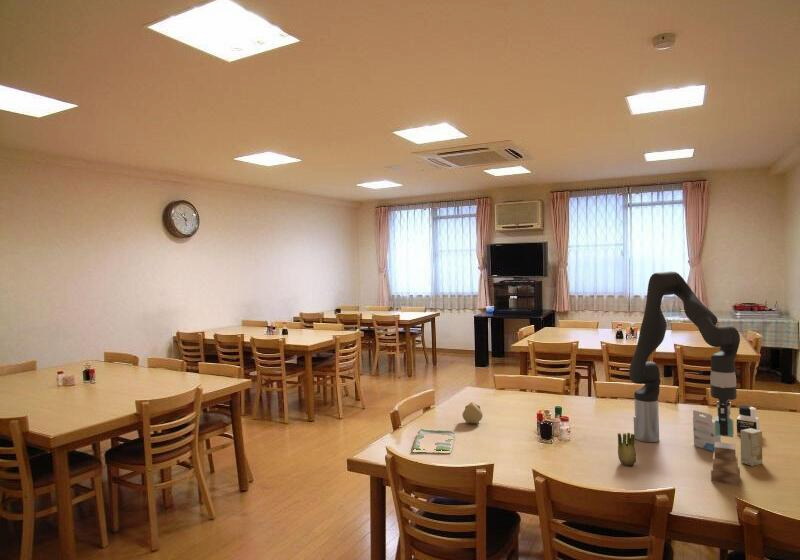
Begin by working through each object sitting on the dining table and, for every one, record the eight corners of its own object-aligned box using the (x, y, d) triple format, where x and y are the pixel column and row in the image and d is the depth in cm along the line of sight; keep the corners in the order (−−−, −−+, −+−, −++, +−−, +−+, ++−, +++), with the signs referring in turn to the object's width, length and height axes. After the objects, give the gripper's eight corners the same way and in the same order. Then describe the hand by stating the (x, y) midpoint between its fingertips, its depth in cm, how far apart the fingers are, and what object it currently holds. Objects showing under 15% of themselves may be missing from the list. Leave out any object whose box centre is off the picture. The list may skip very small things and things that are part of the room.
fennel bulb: (617, 464, 190) (616, 432, 189) (622, 460, 193) (621, 429, 193) (633, 468, 185) (632, 436, 185) (638, 464, 189) (637, 432, 189)
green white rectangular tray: (455, 436, 229) (455, 428, 229) (452, 455, 207) (452, 446, 207) (418, 435, 232) (417, 428, 232) (411, 454, 209) (410, 445, 209)
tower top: (714, 458, 172) (714, 446, 172) (715, 452, 177) (714, 441, 177) (735, 461, 169) (735, 449, 169) (735, 455, 174) (735, 444, 174)
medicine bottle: (736, 434, 216) (736, 407, 216) (739, 430, 221) (739, 403, 221) (756, 438, 211) (756, 410, 211) (759, 433, 216) (758, 406, 216)
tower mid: (712, 469, 173) (712, 458, 172) (714, 463, 178) (713, 451, 178) (737, 474, 169) (737, 462, 168) (737, 466, 174) (737, 455, 174)
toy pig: (483, 420, 251) (482, 398, 251) (482, 427, 239) (481, 405, 239) (463, 419, 253) (463, 398, 253) (461, 427, 241) (461, 405, 241)
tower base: (711, 481, 172) (711, 470, 172) (713, 473, 179) (712, 462, 179) (739, 486, 168) (739, 475, 168) (740, 478, 174) (739, 466, 174)
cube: (715, 434, 172) (715, 420, 172) (716, 430, 177) (716, 416, 176) (732, 437, 170) (732, 422, 169) (733, 433, 174) (733, 418, 173)
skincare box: (752, 466, 183) (751, 433, 183) (740, 462, 187) (739, 430, 187) (763, 463, 185) (762, 430, 185) (751, 459, 189) (750, 427, 189)
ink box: (721, 449, 200) (720, 413, 200) (713, 452, 198) (712, 414, 198) (701, 443, 208) (700, 408, 208) (693, 445, 206) (692, 409, 206)
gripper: (712, 378, 181) (713, 425, 181) (708, 387, 169) (709, 437, 169) (737, 380, 176) (738, 428, 177) (735, 389, 165) (736, 441, 165)
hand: (724, 432), depth 173 cm, fingers closed on cube, 5 cm apart
